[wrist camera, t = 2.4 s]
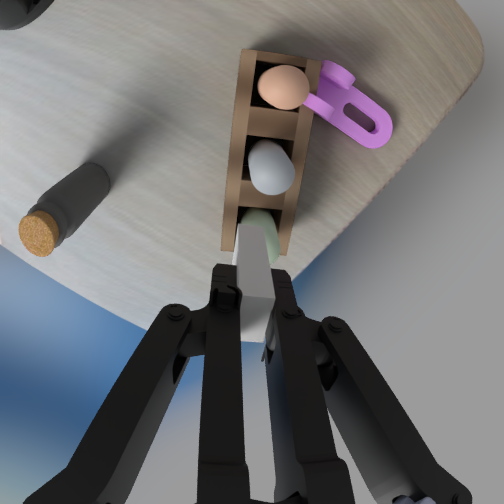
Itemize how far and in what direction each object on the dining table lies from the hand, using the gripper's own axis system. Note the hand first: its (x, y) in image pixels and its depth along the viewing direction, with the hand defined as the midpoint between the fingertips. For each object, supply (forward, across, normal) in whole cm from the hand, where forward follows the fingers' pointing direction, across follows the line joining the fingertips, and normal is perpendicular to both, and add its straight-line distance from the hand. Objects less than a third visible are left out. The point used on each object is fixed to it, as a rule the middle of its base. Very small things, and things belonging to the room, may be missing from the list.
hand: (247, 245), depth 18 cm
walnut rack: (+21, +2, +2) cm, 22 cm away
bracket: (+21, +12, +9) cm, 26 cm away
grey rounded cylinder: (+17, +2, +2) cm, 17 cm away
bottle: (+21, -20, -5) cm, 30 cm away
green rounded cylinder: (+17, +3, -6) cm, 18 cm away
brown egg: (+17, +2, +10) cm, 19 cm away
